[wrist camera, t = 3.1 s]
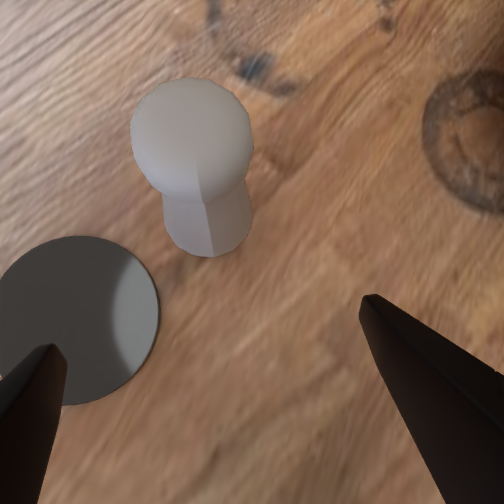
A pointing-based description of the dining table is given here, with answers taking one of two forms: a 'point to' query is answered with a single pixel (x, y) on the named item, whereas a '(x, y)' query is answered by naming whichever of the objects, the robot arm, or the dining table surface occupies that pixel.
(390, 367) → the robot arm
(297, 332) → the dining table surface
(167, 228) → the salt shaker
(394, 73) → the dining table surface
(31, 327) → the coaster
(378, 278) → the dining table surface
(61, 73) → the dining table surface
